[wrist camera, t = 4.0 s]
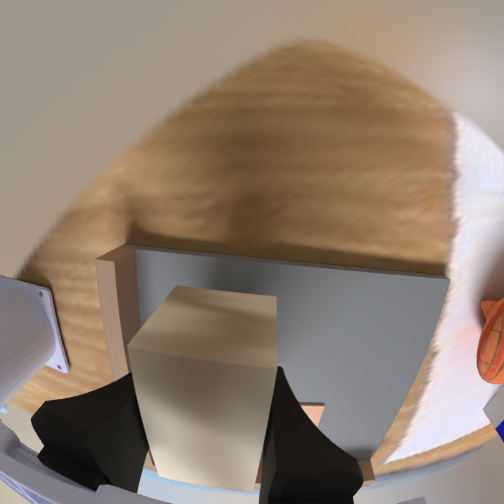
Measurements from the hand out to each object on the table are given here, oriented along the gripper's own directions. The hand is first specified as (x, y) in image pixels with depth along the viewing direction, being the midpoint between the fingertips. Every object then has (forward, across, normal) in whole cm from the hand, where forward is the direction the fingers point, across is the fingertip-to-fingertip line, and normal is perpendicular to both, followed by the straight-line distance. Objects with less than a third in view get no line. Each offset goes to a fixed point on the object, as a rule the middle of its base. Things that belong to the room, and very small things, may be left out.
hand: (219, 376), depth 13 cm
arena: (+5, -3, +5) cm, 8 cm away
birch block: (+1, 0, 0) cm, 1 cm away
